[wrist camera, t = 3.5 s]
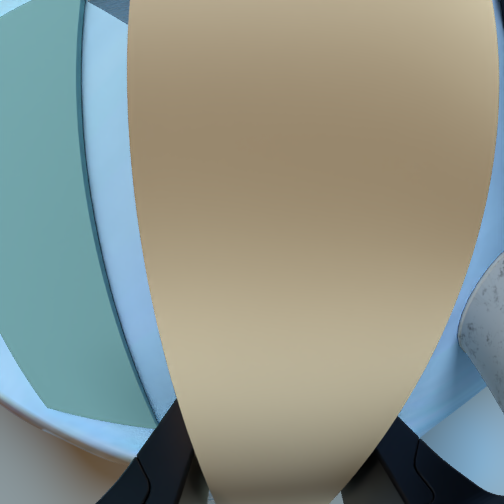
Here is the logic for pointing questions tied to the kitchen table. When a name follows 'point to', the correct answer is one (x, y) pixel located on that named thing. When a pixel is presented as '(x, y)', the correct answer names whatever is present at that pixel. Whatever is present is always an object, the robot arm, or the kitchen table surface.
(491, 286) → the grey stone cylinder
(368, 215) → the rail
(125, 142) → the kitchen table surface
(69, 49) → the mat
